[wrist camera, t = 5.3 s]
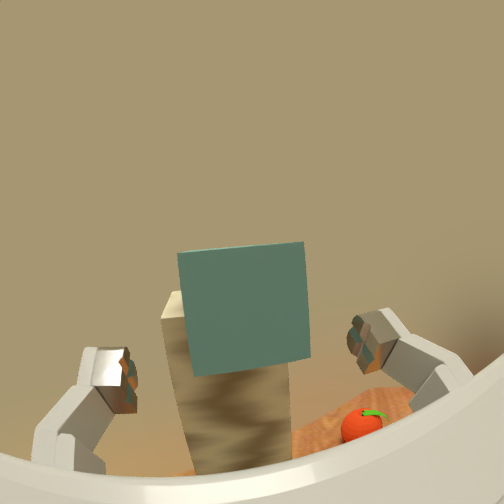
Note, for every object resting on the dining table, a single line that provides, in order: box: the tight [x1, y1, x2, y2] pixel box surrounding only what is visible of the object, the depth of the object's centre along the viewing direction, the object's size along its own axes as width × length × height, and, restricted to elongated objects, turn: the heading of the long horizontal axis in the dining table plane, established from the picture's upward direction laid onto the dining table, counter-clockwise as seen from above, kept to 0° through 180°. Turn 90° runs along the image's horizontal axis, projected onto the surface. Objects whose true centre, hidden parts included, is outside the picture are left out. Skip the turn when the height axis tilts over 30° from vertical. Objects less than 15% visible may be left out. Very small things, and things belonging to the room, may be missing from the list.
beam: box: [177, 242, 311, 377], centre depth 20 cm, size 4×22×4 cm, turn 12°
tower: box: [161, 291, 292, 475], centre depth 24 cm, size 8×12×30 cm, turn 12°
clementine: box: [341, 408, 389, 443], centre depth 36 cm, size 8×7×7 cm
